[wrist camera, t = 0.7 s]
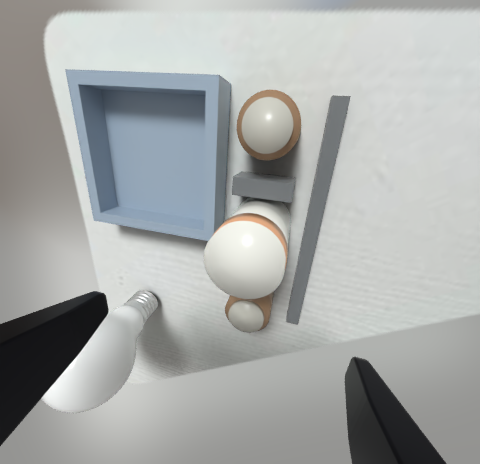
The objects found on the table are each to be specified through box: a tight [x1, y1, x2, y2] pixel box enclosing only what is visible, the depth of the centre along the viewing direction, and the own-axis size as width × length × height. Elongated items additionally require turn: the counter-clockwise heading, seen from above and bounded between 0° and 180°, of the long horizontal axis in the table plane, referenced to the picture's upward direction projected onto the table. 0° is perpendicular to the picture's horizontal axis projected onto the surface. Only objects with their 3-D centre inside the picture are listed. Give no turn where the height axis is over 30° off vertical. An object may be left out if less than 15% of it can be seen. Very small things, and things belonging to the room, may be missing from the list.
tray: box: [65, 69, 231, 241], centre depth 17 cm, size 11×11×2 cm
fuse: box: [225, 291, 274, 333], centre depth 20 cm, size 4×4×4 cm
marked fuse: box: [204, 197, 291, 299], centre depth 15 cm, size 4×4×7 cm
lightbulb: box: [41, 290, 158, 413], centre depth 20 cm, size 6×6×11 cm
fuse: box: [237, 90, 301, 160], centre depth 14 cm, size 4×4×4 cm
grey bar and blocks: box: [232, 96, 351, 324], centre depth 17 cm, size 6×18×2 cm, turn 176°
